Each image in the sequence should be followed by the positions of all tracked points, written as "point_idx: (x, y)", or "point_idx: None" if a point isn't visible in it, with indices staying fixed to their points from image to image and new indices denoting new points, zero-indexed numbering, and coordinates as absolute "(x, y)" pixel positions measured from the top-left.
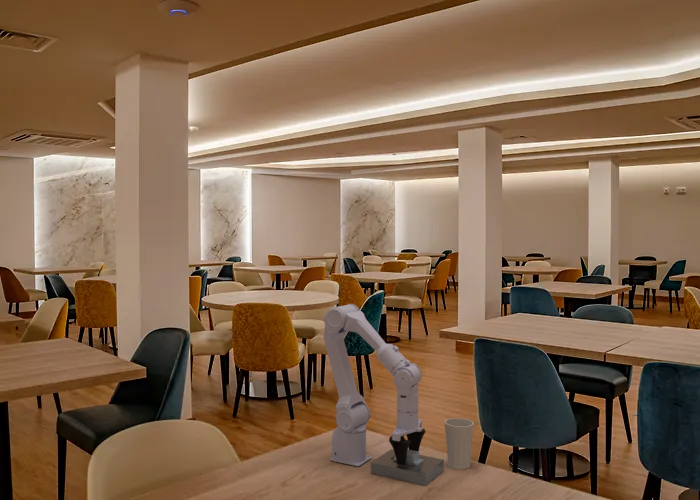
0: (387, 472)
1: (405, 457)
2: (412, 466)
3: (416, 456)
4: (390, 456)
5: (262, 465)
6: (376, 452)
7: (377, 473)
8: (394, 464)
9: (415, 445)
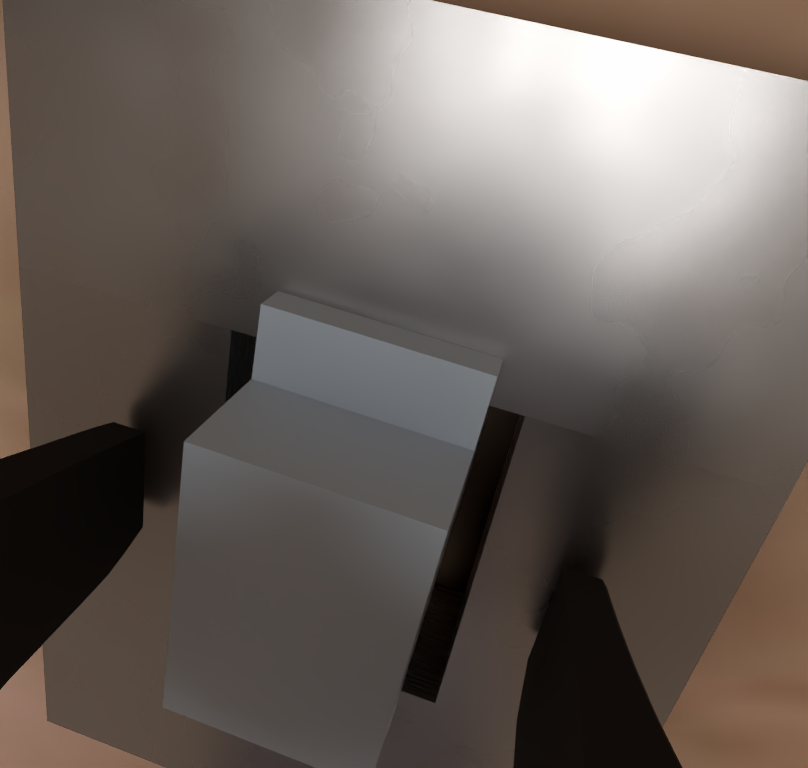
0: None
1: (634, 680)
2: (561, 443)
3: (338, 456)
4: None
5: None
6: (39, 741)
7: None
8: None
9: (5, 557)
